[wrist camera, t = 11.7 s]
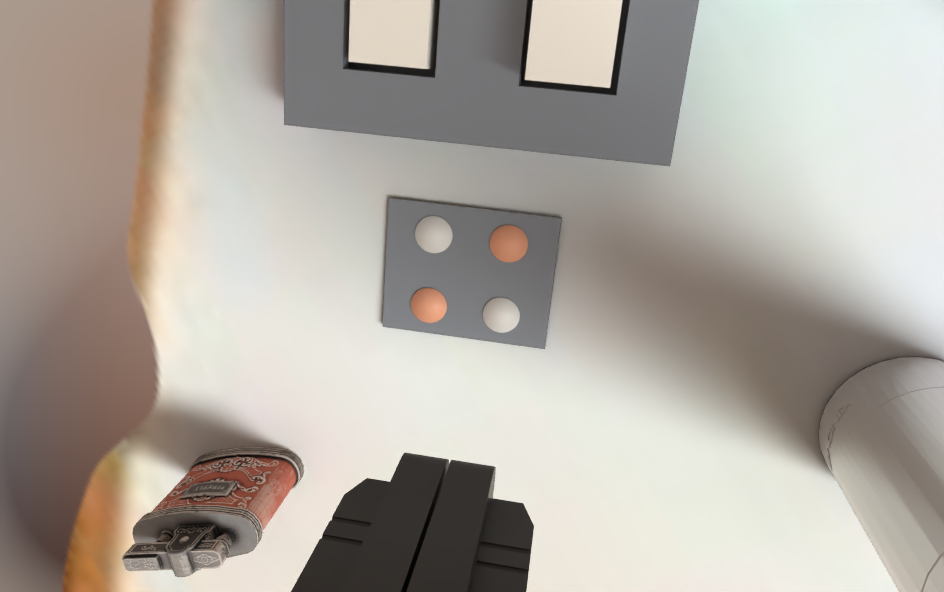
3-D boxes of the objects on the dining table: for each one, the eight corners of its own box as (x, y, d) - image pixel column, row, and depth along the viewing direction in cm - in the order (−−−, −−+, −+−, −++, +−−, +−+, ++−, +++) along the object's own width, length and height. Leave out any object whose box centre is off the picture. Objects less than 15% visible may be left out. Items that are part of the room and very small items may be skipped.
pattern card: (561, 217, 42) (561, 219, 41) (545, 347, 44) (544, 349, 44) (389, 197, 43) (388, 198, 42) (383, 324, 45) (382, 327, 45)
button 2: (442, -14, 37) (431, -19, 35) (436, 67, 39) (426, 69, 36) (366, -21, 38) (350, -25, 35) (363, 60, 39) (348, 61, 37)
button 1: (620, -1, 35) (623, -5, 33) (608, 85, 37) (610, 87, 34) (538, -8, 36) (534, -12, 33) (528, 77, 37) (524, 79, 35)
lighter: (297, 443, 49) (229, 536, 40) (309, 487, 50) (244, 588, 41) (189, 450, 51) (98, 542, 41) (202, 492, 52) (116, 592, 42)
